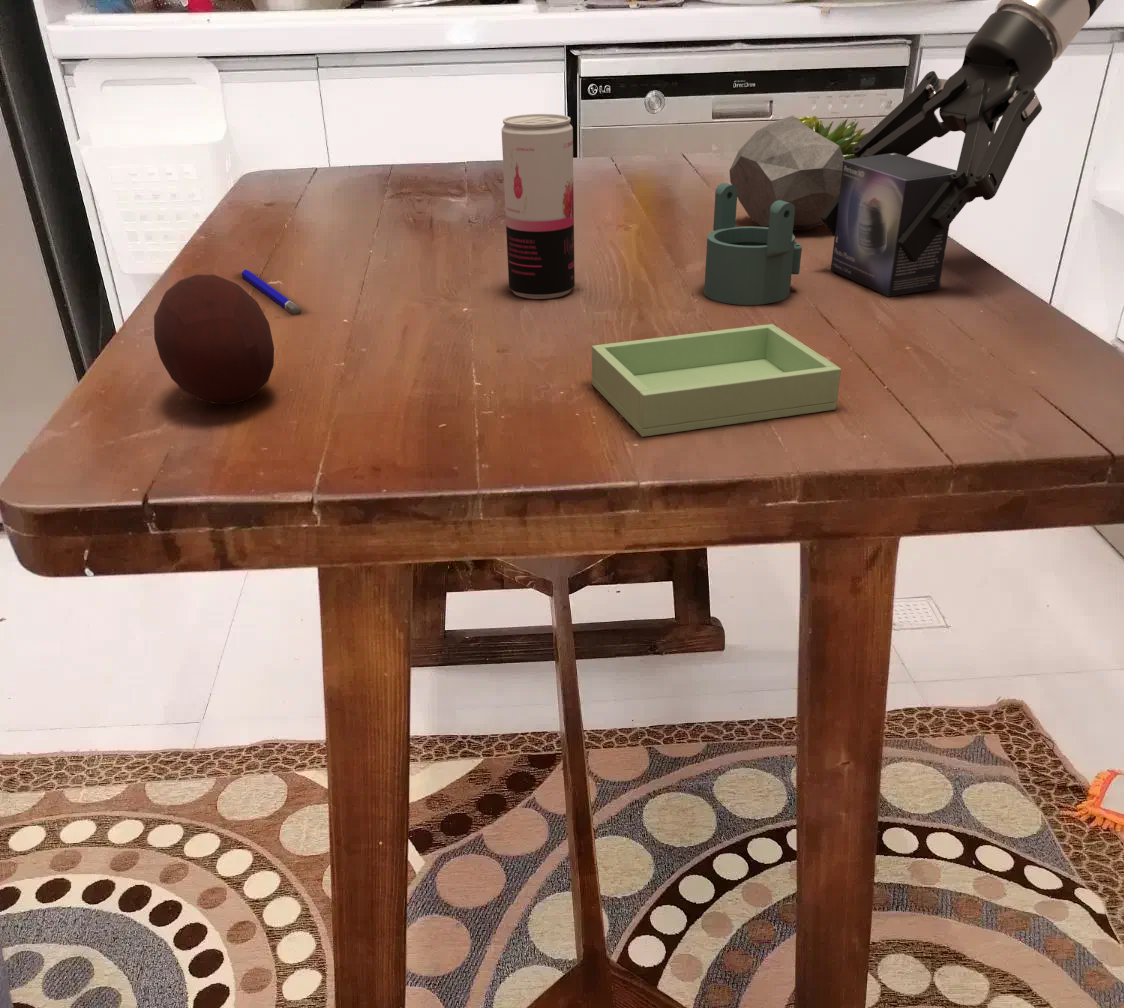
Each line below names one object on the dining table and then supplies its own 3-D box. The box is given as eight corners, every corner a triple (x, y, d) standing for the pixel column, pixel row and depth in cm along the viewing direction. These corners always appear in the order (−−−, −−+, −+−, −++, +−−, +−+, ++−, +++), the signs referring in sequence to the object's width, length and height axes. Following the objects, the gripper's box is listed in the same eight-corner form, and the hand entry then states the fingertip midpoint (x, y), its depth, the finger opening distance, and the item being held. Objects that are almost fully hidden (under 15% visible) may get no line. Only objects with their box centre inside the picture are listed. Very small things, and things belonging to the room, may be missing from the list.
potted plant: (719, 185, 131) (830, 137, 132) (766, 274, 130) (879, 225, 131) (734, 112, 120) (857, 60, 120) (787, 209, 118) (911, 156, 119)
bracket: (781, 309, 103) (792, 205, 98) (688, 299, 106) (693, 197, 101) (804, 285, 110) (816, 186, 104) (716, 276, 113) (723, 179, 107)
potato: (176, 433, 82) (144, 304, 76) (166, 381, 91) (136, 262, 85) (292, 416, 84) (270, 289, 78) (271, 367, 93) (250, 250, 87)
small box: (825, 271, 113) (838, 157, 107) (878, 263, 115) (895, 151, 108) (885, 298, 105) (904, 176, 99) (942, 289, 107) (963, 169, 101)
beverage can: (588, 291, 109) (587, 118, 100) (536, 304, 106) (530, 127, 97) (547, 278, 113) (543, 111, 104) (496, 290, 110) (486, 119, 101)
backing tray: (836, 409, 83) (841, 368, 81) (642, 437, 79) (643, 394, 77) (769, 361, 91) (772, 323, 90) (591, 384, 88) (591, 345, 86)
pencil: (302, 316, 105) (300, 305, 105) (293, 317, 105) (291, 307, 104) (248, 276, 117) (246, 266, 116) (240, 277, 117) (238, 268, 116)
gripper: (1137, 82, 97) (967, 292, 101) (951, 58, 113) (811, 240, 117) (1111, 13, 92) (933, 238, 96) (920, -1, 108) (775, 191, 112)
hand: (866, 239), depth 106 cm, fingers closed on small box, 11 cm apart
